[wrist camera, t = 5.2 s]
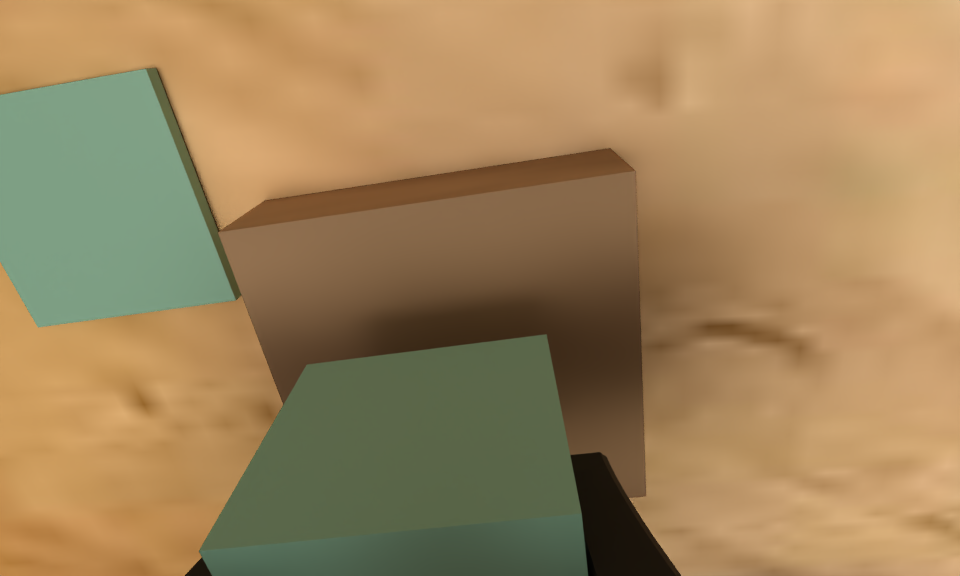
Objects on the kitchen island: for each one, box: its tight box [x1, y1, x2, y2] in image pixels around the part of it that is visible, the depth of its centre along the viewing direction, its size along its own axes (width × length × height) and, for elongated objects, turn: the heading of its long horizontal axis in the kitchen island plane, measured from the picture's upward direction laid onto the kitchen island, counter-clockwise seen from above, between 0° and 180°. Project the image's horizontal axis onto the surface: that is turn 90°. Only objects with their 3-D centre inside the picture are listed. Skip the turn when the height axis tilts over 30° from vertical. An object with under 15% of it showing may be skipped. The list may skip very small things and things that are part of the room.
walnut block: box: [218, 148, 646, 498], centre depth 14 cm, size 9×9×3 cm
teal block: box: [199, 334, 588, 576], centre depth 9 cm, size 4×4×4 cm
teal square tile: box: [0, 68, 241, 327], centre depth 14 cm, size 6×6×1 cm
